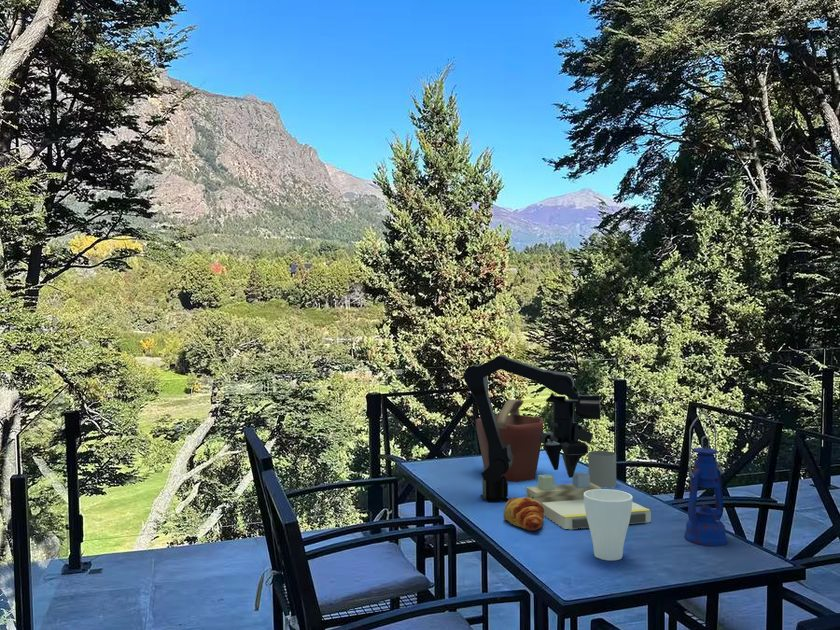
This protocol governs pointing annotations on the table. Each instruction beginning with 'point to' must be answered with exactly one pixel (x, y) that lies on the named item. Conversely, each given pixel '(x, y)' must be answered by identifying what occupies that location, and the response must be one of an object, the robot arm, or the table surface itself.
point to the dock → (575, 514)
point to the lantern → (705, 519)
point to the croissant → (524, 513)
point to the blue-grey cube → (581, 480)
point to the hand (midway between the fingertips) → (563, 473)
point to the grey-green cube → (546, 482)
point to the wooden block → (559, 493)
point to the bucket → (516, 441)
